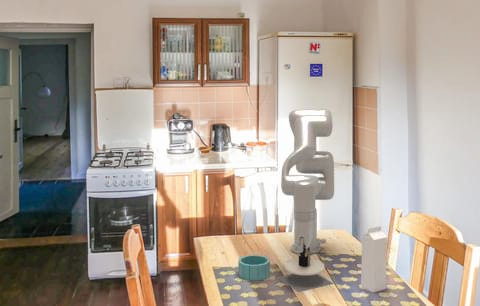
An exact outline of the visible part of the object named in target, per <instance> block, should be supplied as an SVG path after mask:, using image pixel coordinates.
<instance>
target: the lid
mask: <svg viewBox="0 0 480 306" xmlns="http://www.w3.org/2000/svg"><path fill="white" fill-rule="evenodd" d="M304 251H305V250H304ZM307 256H308V267H302V266H299V257H296V258H292V259H289V260H287V261H286V262H285V264H284V268H285V271H287V272H289V274H296V275H315V274H318V275H320V274H321V273H323V272H324V270H325V263H324V262H322V261H320V259H315V258H311V254H310V251H309V250H307Z"/></svg>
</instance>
